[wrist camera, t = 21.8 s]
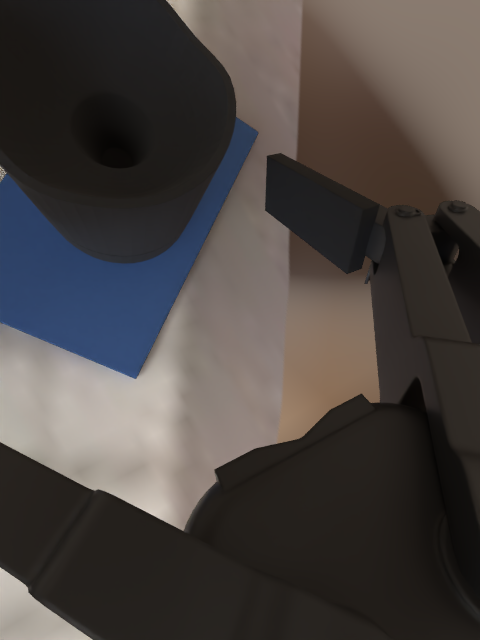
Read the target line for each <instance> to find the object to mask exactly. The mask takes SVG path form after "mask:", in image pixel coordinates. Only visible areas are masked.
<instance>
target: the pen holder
mask: <svg viewBox="0 0 480 640" xmlns="http://www.w3.org/2000/svg"><path fill="white" fill-rule="evenodd" d="M235 120H236V99H235V92H234V88H233V85H232V82H231V79H230V76H229V75H228V73H227V72H226V70H225V68H224V67H223V65H222V64H221V63H220V62H219V61H218V60H217V59H216V57H215V56H214V55H213V54H212V53H211V52H210V51H209V50H208V49H207V48H206V47H205V46H204V45H203V44H202V43H201V42H200V41H199V40H198V39H197V38H196V37H195V35H194V34H193V33H192V32H191V31H190V29H189V28H188V27H187V26H186V24H185V23H184V22H183V21H182V19H181V18H180V17H179V16H178V14H177V13H176V12H175V11H174V9H173V8H172V7H171V6H170V4H169V3H168V2H167V1H166V0H0V165H1V167H2V168H3V169H4V170H5V171H6V172H7V174H8V175H9V176H10V177H11V178H12V179H13V181H14V182H15V183H16V184H17V185H18V186H19V187H20V189H21V190H22V191H23V192H24V193H25V194H26V196H27V197H28V198H29V199H30V200H31V201H32V202H33V204H34V205H35V206H36V207H37V208H38V209H39V211H40V212H41V213H42V214H43V215H44V216H45V218H46V219H47V220H48V221H49V222H50V223H51V224H52V225H53V226H54V227H55V228H56V230H57V231H58V232H59V233H60V234H61V235H62V236H63V237H64V238H65V239H66V240H67V241H68V242H70V243H71V244H72V245H73V246H75V247H76V248H77V249H79V250H81V251H82V252H84V253H86V254H88V255H90V256H92V257H94V258H97V259H100V260H103V261H107V262H112V263H122V264H125V263H137V262H142V261H146V260H149V259H152V258H154V257H156V256H158V255H160V254H162V253H163V252H165V251H166V250H167V249H169V248H170V247H171V246H172V245H173V244H174V243H175V242H176V241H177V240H178V238H179V237H180V235H181V234H182V232H183V231H184V229H185V228H186V226H187V224H188V223H189V221H190V219H191V217H192V215H193V214H194V212H195V210H196V208H197V206H198V204H199V202H200V201H201V199H202V197H203V195H204V193H205V191H206V189H207V188H208V186H209V184H210V182H211V180H212V178H213V176H214V175H215V173H216V171H217V169H218V167H219V165H220V163H221V161H222V160H223V157H224V155H225V153H226V151H227V149H228V147H229V145H230V142H231V139H232V135H233V132H234V127H235Z"/></svg>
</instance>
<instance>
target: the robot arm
mask: <svg viewBox="0 0 480 640" xmlns="http://www.w3.org/2000/svg"><path fill="white" fill-rule="evenodd" d="M265 211H267V212H268V213H269V214H271V215H272V216H273V217H274V218H276V219H277V220H278V221H280V222H281V223H282V224H283V225H285V226H286V227H287V228H288V229H290V230H291V231H292V232H294V233H295V234H296V235H297V236H299V237H300V238H301V239H303V240H304V241H305V242H306V243H308V244H309V245H310V246H312V247H313V248H314V249H315V250H317V251H318V252H319V253H321V254H322V255H323V256H324V257H326V258H327V259H328V260H330V261H331V262H332V263H333V264H335V265H336V266H337V267H338V268H340V269H341V270H342V271H344V272H345V273H346V274H348V273H351V272H354V271H356V270H359V269H361V268H362V265H363V261H364V258H365V256H367V257H368V258H370V259H371V260H372V261H371V265H370V268H369V271H368V274H367V277H366V280H365V284H367V283H368V281H369V280H370V283H371V295H372V307H373V319H374V330H375V341H376V354H377V366H378V377H379V388H380V403H370V402H369V401H368V400H367V399H366V398H365V397H364V396H363V395H362V394H360V395H358V396H356V397H354V398H352V399H350V400H348V401H346V402H344V403H343V404H341V405H339V406H337V407H335V408H333V409H331V410H330V411H329V412H328V413H326V415H324V416H323V417H322V418H321V419H320V420H319V421H318V422H317V423H316V424H315V425H314V426H313V427H312V428H311V429H310V430H309V431H308V432H307V433H306V434H305V435H304V436H303V437H302V438H300V439H297V440H293V441H288V442H283V443H279V444H274V445H269V446H265V447H260V448H256V449H254V450H252V451H250V452H248V453H246V454H244V455H242V456H240V457H238V458H236V459H234V460H232V461H230V462H228V463H226V464H224V465H223V466H221V467H219V468H217V469H215V476H216V481H217V482H216V483H215V484H214V485H213V486H212V487H211V488H210V489H209V490H208V491H207V492H206V493H205V494H204V496H203V497H202V498H201V499H200V501H199V502H198V504H197V505H196V507H195V508H194V510H193V512H192V514H191V516H190V518H189V520H188V522H187V524H186V526H185V529H184V531H182V530H180V529H178V528H176V527H174V526H172V525H170V524H168V523H166V522H164V521H162V520H160V519H158V518H156V517H155V516H153V515H151V514H149V513H147V512H145V511H143V510H141V509H139V508H137V507H135V506H133V505H131V504H129V503H127V502H125V501H124V500H122V499H120V498H118V497H116V496H114V495H111V494H109V493H107V492H105V491H102V490H96V491H94V490H91V489H89V488H87V487H85V486H83V485H81V484H79V483H77V482H75V481H73V480H71V479H69V478H67V477H65V476H63V475H62V474H60V473H58V472H56V471H54V470H52V469H50V468H48V467H46V466H44V465H42V464H41V463H39V462H37V461H35V460H33V459H31V458H29V457H27V456H25V455H23V454H21V453H19V452H18V451H16V450H14V449H12V448H10V447H8V446H6V445H4V444H2V443H0V567H1V568H2V569H4V570H5V571H7V572H8V573H10V574H11V575H12V576H14V577H15V578H17V579H18V580H20V581H21V582H22V583H24V584H25V585H26V586H27V587H28V592H29V593H30V594H31V595H32V596H33V597H34V598H35V599H36V600H37V601H39V602H40V603H41V604H43V605H44V606H45V607H47V608H48V609H50V610H51V611H52V612H54V613H55V614H57V615H58V616H60V617H61V618H63V619H64V620H65V621H67V622H68V623H70V624H71V625H73V626H74V627H75V628H77V629H78V630H80V631H81V632H83V633H84V634H86V635H87V636H88V637H90V638H91V639H93V640H480V211H478V210H477V209H476V208H475V207H473V206H471V205H469V204H466V203H465V202H463V201H457V200H456V201H445V202H442V203H440V205H439V207H438V209H437V212H436V214H435V215H424V213H423V212H422V211H421V210H419V209H417V208H414V207H411V206H406V205H396V206H391V207H389V208H388V209H387V208H385V207H383V206H382V205H380V204H377V203H376V202H374V201H372V200H370V199H368V198H366V197H364V196H362V195H360V194H358V193H357V192H355V191H353V190H351V189H348V188H347V187H345V186H343V185H341V184H339V183H337V182H335V181H333V180H331V179H329V178H327V177H325V176H324V175H322V174H320V173H318V172H316V171H314V170H312V169H310V168H308V167H306V166H304V165H302V164H301V163H299V162H297V161H295V160H293V159H291V158H289V157H287V156H285V155H283V154H281V153H279V154H274V155H269V156H267V174H266V202H265ZM458 249H459V255H458V258H457V260H456V261H455V260H454V257H455V255H456V253H457V251H458Z"/></svg>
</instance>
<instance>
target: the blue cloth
mask: <svg viewBox="0 0 480 640" xmlns="http://www.w3.org/2000/svg"><path fill="white" fill-rule="evenodd" d="M257 135H258V132H257V131H256V130H254V129H253V128H251V127H250V126H249V125H247V124H246V123H244V122H243V121H241V120H240V119H238V118H237V117H236V120H235V127H234V132H233V135H232V139H231V142H230V145H229V147H228V149H227V151H226V153H225V155H224V157H223V160H222V161H221V163H220V165H219V167H218V169H217V171H216V173H215V175H214V176H213V178H212V180H211V182H210V184H209V186H208V188H207V189H206V191H205V193H204V195H203V197H202V199H201V201H200V202H199V204H198V206H197V208H196V210H195V212H194V214H193V215H192V217H191V219H190V221H189V223H188V224H187V226H186V228H185V229H184V231H183V232H182V234H181V235H180V237H179V238H178V240H177V241H176V242H175V243H174V244H173V245H172V246H171V247H170V248H169V249H167V250H166V251H165V252H163V253H162V254H160V255H158V256H156V257H154V258H152V259H149V260H146V261H142V262H137V263H125V264H122V263H112V262H107V261H103V260H100V259H97V258H94V257H92V256H90V255H88V254H86V253H84V252H82V251H81V250H79V249H77V248H76V247H75V246H73V245H72V244H71V243H70V242H68V241H67V240H66V239H65V238H64V237H63V236H62V235H61V234H60V233H59V232H58V231H57V230H56V228H55V227H54V226H53V225H52V224H51V223H50V222H49V221H48V220H47V219H46V218H45V216H44V215H43V214H42V213H41V212H40V211H39V209H38V208H37V207H36V206H35V205H34V204H33V202H32V201H31V200H30V199H29V198H28V197H27V196H26V194H25V193H24V192H23V191H22V190H21V189H20V187H19V186H18V185H17V184H16V183H15V182H14V181H13V179H12V178H11V177H10V176H9V175H8V174H6V175H5V177H4V178H3V180H2V181H1V183H0V322H1V323H3V324H6V325H8V326H10V327H13V328H15V329H18V330H20V331H22V332H25V333H27V334H30V335H32V336H34V337H37V338H39V339H41V340H44V341H46V342H49V343H51V344H53V345H56V346H58V347H61V348H63V349H65V350H68V351H70V352H73V353H75V354H77V355H80V356H82V357H84V358H87V359H89V360H92V361H94V362H96V363H99V364H101V365H104V366H106V367H108V368H111V369H113V370H116V371H118V372H120V373H123V374H125V375H127V376H130V377H132V378H135V379H136V378H137V376H138V374H139V372H140V370H141V368H142V366H143V364H144V362H145V360H146V358H147V356H148V354H149V352H150V350H151V348H152V346H153V344H154V342H155V340H156V338H157V336H158V334H159V332H160V330H161V328H162V326H163V324H164V322H165V320H166V318H167V316H168V314H169V312H170V310H171V308H172V306H173V304H174V302H175V300H176V298H177V296H178V294H179V292H180V290H181V288H182V286H183V284H184V282H185V280H186V277H187V275H188V273H189V271H190V269H191V267H192V265H193V263H194V261H195V259H196V257H197V255H198V253H199V251H200V249H201V247H202V245H203V243H204V241H205V239H206V237H207V235H208V233H209V231H210V229H211V227H212V225H213V223H214V221H215V219H216V217H217V215H218V213H219V211H220V209H221V207H222V205H223V203H224V201H225V199H226V197H227V195H228V193H229V191H230V189H231V187H232V185H233V183H234V181H235V179H236V177H237V175H238V173H239V171H240V169H241V167H242V165H243V163H244V161H245V159H246V157H247V155H248V153H249V151H250V149H251V147H252V145H253V143H254V141H255V139H256V137H257Z"/></svg>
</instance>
